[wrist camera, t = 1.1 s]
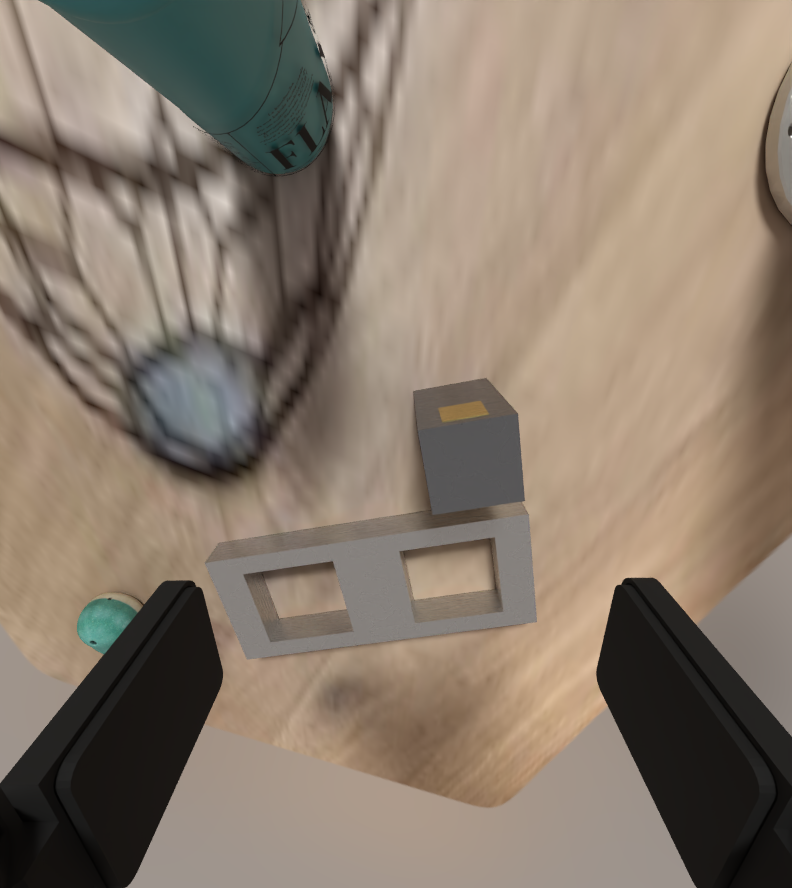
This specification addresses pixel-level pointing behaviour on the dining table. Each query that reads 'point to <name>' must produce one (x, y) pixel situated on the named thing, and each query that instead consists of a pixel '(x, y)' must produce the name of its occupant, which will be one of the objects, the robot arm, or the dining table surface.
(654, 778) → the robot arm
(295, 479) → the dining table surface
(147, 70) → the beverage bottle
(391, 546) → the rail
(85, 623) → the whale figurine
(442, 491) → the block
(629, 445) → the dining table surface
